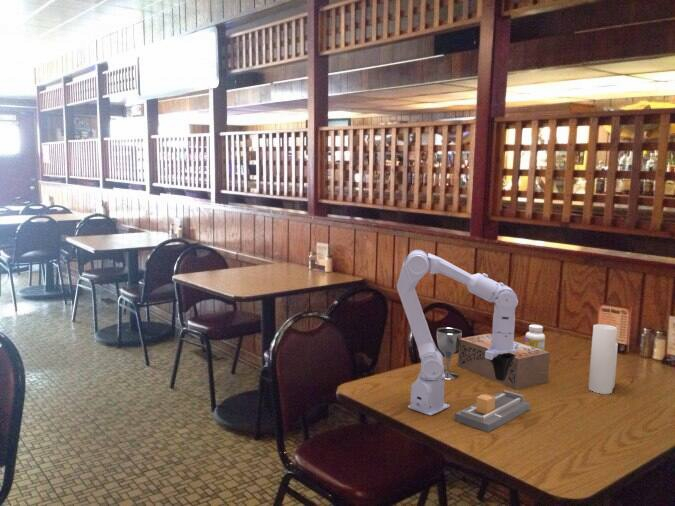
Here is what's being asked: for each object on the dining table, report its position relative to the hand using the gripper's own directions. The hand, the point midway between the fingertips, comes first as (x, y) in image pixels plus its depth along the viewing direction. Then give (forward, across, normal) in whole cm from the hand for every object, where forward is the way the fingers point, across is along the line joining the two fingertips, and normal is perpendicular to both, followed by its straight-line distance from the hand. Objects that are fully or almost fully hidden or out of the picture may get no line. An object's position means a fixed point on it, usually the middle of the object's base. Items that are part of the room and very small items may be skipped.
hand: (500, 379), depth 159 cm
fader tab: (+7, -7, 0) cm, 10 cm away
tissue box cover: (+10, +30, +16) cm, 35 cm away
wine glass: (+10, +15, +27) cm, 32 cm away
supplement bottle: (+9, +51, +15) cm, 54 cm away
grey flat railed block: (+9, -3, 0) cm, 10 cm away
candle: (+9, +41, -12) cm, 44 cm away
